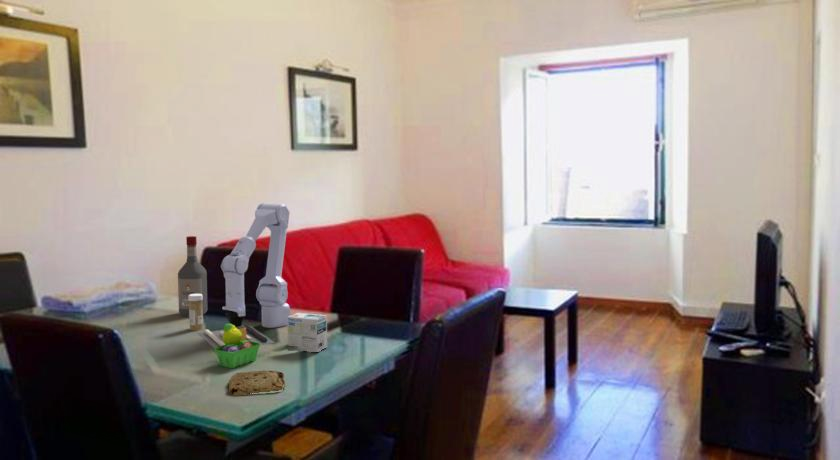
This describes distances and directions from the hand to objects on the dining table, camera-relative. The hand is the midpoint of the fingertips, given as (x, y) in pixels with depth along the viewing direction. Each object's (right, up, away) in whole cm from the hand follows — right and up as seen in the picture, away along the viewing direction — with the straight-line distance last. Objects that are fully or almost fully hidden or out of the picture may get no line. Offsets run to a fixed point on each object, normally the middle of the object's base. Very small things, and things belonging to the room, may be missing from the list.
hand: (235, 333), depth 202 cm
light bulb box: (+24, -4, -6) cm, 25 cm away
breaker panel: (0, -3, +1) cm, 3 cm away
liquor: (-28, +1, +40) cm, 49 cm away
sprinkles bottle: (-17, -2, +11) cm, 20 cm away
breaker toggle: (+2, -2, -2) cm, 3 cm away
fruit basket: (+6, -5, -20) cm, 22 cm away
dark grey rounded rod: (+5, -1, +4) cm, 7 cm away
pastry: (+17, -8, -39) cm, 43 cm away
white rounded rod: (-6, -2, -3) cm, 7 cm away
